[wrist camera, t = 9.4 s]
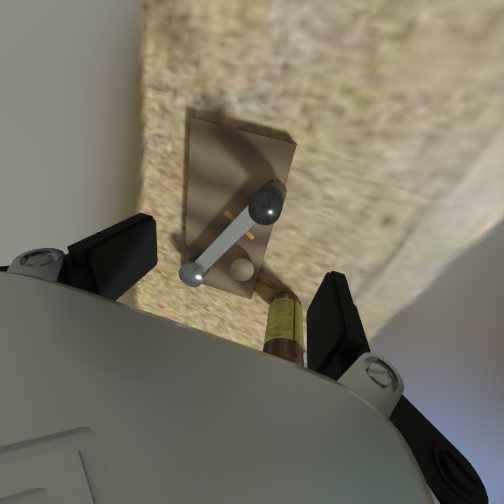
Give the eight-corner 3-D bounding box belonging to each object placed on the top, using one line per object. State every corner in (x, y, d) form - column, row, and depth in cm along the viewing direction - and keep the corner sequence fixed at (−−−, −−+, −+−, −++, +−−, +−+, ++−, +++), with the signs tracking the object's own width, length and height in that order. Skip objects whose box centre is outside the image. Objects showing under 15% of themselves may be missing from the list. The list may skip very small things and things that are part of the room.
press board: (197, 118, 28) (173, 114, 23) (296, 144, 27) (295, 145, 22) (188, 272, 42) (172, 290, 37) (253, 292, 41) (246, 315, 36)
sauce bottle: (264, 304, 42) (238, 418, 25) (281, 285, 38) (264, 402, 21) (291, 320, 42) (284, 442, 25) (310, 302, 39) (316, 429, 22)
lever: (201, 281, 39) (173, 318, 31) (182, 266, 38) (150, 301, 30) (295, 191, 27) (292, 214, 19) (272, 167, 26) (259, 180, 18)
